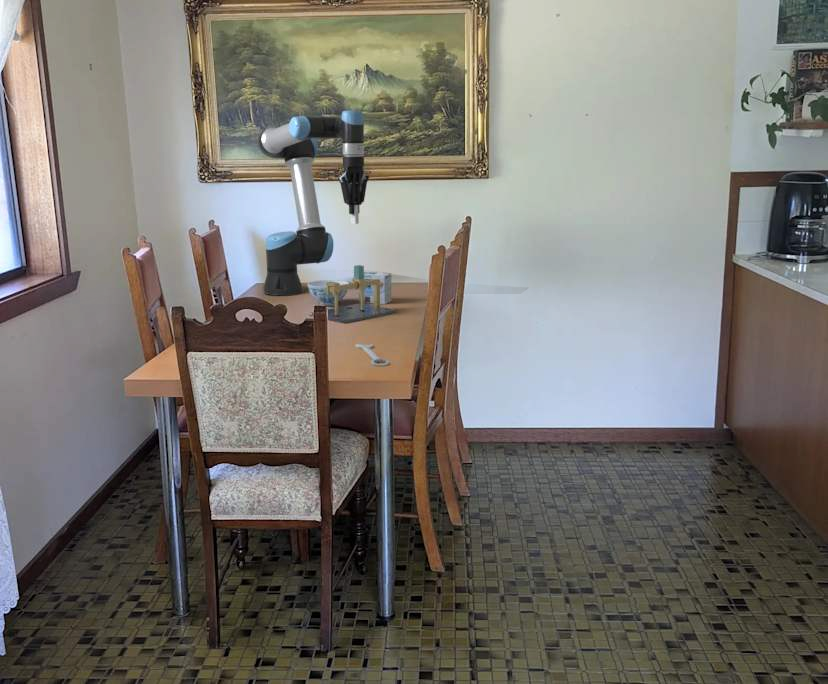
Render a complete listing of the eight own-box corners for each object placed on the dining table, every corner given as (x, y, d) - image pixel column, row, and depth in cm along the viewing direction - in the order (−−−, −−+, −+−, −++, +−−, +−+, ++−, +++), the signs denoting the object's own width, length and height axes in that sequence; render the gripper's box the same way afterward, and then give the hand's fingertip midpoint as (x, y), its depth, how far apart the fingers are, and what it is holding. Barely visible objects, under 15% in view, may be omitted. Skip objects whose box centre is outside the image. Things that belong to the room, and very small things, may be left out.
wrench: (371, 347, 253) (353, 348, 252) (371, 342, 253) (353, 343, 252) (391, 367, 230) (372, 368, 228) (391, 361, 230) (372, 362, 228)
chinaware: (319, 299, 323) (319, 279, 321) (356, 301, 317) (355, 281, 315) (300, 306, 309) (300, 285, 307) (338, 309, 304) (337, 288, 302)
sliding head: (353, 309, 298) (352, 265, 294) (358, 308, 299) (357, 264, 296) (360, 310, 295) (360, 266, 291) (366, 309, 297) (365, 266, 293)
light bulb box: (358, 302, 316) (358, 273, 314) (365, 299, 322) (365, 271, 320) (385, 304, 313) (385, 275, 310) (392, 301, 319) (392, 272, 316)
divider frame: (327, 314, 289) (326, 282, 287) (374, 305, 305) (374, 274, 302) (334, 316, 287) (334, 283, 284) (382, 307, 302) (382, 276, 300)
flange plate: (309, 315, 293) (309, 312, 293) (361, 305, 310) (361, 302, 310) (344, 323, 281) (344, 320, 281) (396, 312, 298) (396, 309, 298)
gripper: (346, 156, 294) (347, 225, 299) (374, 155, 303) (374, 222, 308) (332, 156, 299) (333, 223, 304) (359, 155, 308) (360, 221, 313)
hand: (354, 223), depth 306 cm, fingers closed
